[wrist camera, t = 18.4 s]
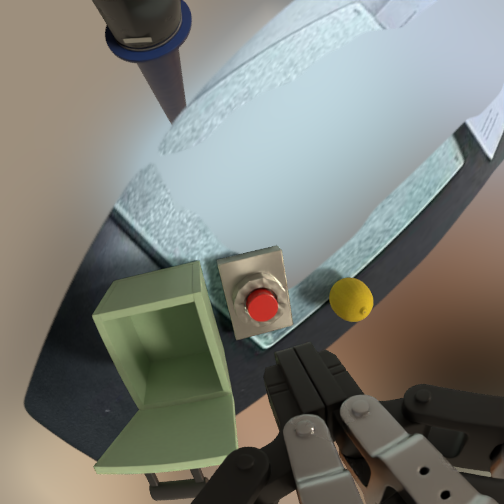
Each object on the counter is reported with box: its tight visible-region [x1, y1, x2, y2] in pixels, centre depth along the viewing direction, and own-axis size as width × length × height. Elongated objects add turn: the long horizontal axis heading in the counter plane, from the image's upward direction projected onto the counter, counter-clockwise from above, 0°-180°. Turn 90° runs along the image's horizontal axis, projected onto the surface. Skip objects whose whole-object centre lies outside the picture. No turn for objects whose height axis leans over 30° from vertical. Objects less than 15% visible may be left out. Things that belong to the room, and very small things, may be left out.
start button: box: [246, 289, 278, 322], centre depth 36 cm, size 4×4×2 cm
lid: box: [94, 394, 238, 501], centre depth 24 cm, size 15×12×5 cm
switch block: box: [216, 246, 293, 340], centre depth 38 cm, size 11×8×4 cm
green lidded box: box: [92, 261, 232, 410], centre depth 34 cm, size 14×12×10 cm
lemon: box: [329, 278, 373, 322], centre depth 39 cm, size 6×6×8 cm
